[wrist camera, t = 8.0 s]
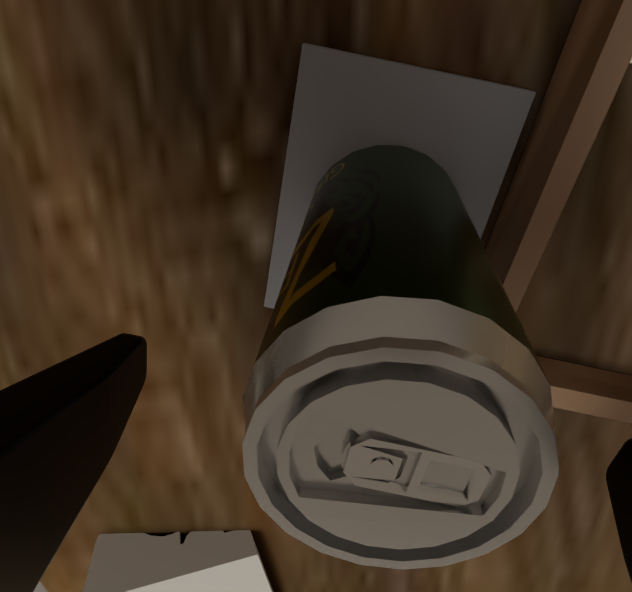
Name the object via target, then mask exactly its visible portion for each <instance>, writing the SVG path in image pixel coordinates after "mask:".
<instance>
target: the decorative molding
mask: <svg viewBox="0 0 632 592" xmlns="http://www.w3.org/2000/svg"><path fill="white" fill-rule="evenodd" d="M83 592H273V589H272V586H271V584H270V581H269V578H268V576H267V573H266V571H265V568H264V565H263V563H262V560H261V557H260V555H259V552H258V549H257V547H256V544H255V541H254V539H253V536H252V534H251V531H250V530H233V531H230V532H226V533H224V531H193V532H190V533H189V534H188V535H187V536H186V539H185V541H184V543H183V544H180V532H175V533H173V534H170V535H167V536H150V535H148V534H146V533H119V534H100V535H99V536H98V538H97V540H96V543H95V547H94V550H93V554H92V558H91V562H90V566H89V570H88V574H87V578H86V582H85V586H84V590H83Z"/></svg>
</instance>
